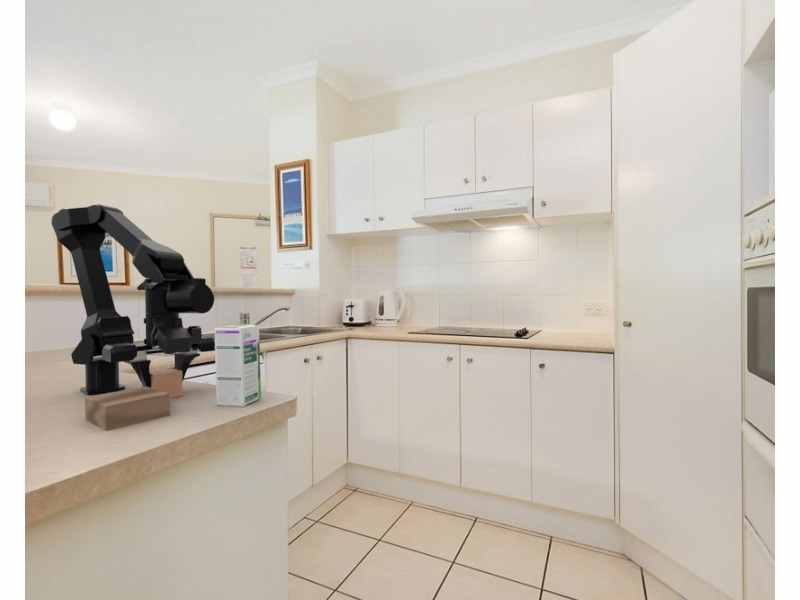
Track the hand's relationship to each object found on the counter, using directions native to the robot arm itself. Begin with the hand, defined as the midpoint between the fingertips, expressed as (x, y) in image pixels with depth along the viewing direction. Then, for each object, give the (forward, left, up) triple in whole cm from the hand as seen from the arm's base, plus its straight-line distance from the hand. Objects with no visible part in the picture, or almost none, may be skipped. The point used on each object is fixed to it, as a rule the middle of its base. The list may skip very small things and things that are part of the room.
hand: (163, 391), depth 77 cm
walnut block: (+10, -9, -1) cm, 14 cm away
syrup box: (+16, +7, -1) cm, 18 cm away
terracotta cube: (0, 0, -1) cm, 1 cm away
